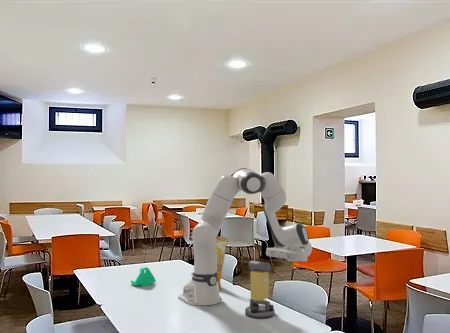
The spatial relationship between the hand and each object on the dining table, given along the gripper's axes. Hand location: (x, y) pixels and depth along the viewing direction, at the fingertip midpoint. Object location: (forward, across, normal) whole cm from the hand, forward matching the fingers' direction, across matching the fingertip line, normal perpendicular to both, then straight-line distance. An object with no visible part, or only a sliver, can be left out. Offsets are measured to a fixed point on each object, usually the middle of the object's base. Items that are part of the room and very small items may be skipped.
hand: (277, 256), depth 202 cm
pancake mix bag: (-10, -46, +24) cm, 53 cm away
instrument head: (+16, +1, +18) cm, 24 cm away
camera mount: (+11, -81, +26) cm, 86 cm away
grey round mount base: (+16, +1, +23) cm, 28 cm away
